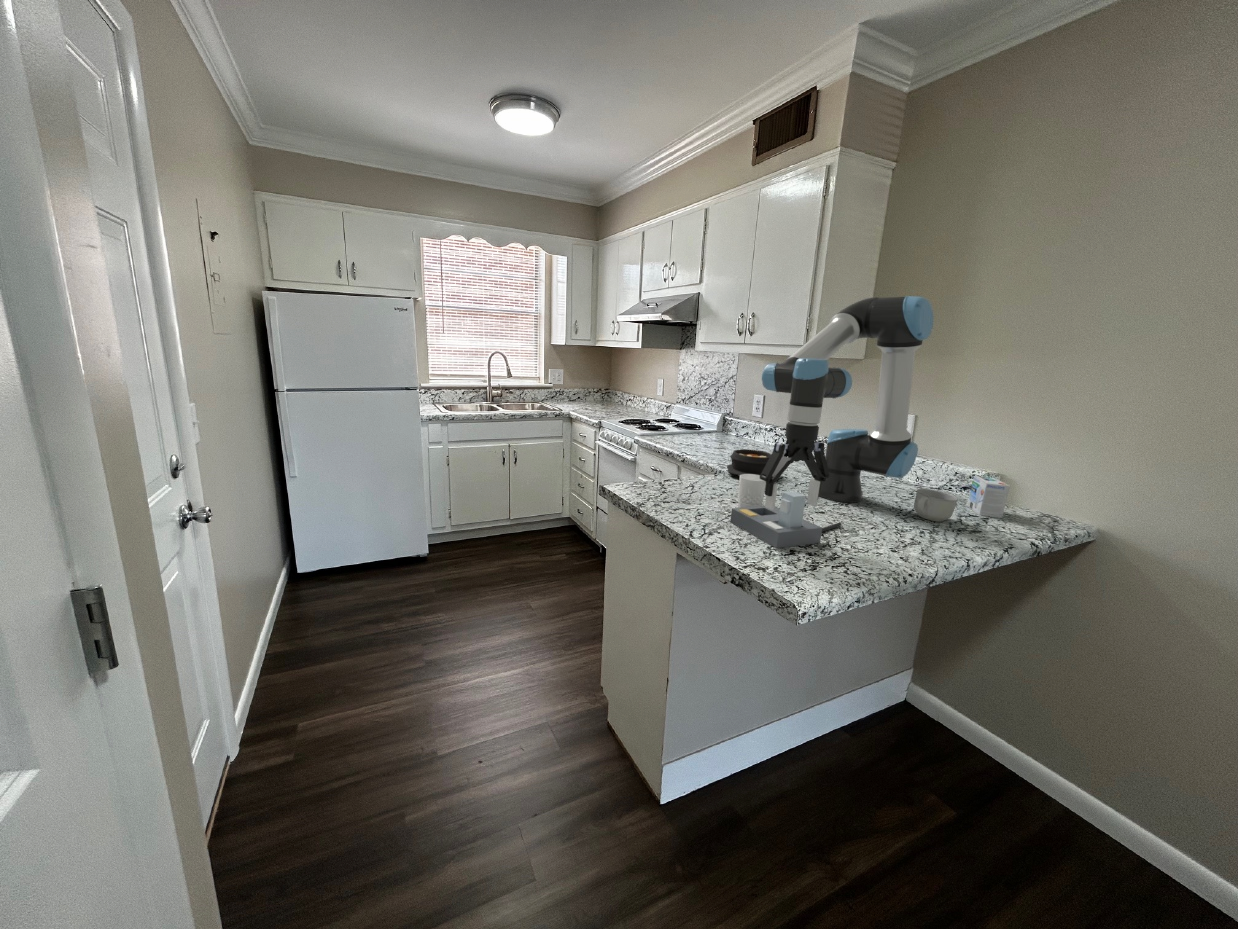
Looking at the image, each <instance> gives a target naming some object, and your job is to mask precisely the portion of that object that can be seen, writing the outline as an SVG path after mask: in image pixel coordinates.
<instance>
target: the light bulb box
mask: <svg viewBox="0 0 1238 929" xmlns="http://www.w3.org/2000/svg"><path fill="white" fill-rule="evenodd" d="M1010 488H1011V485H1010V484H1007V483H1006V482H1004V481H1001V480H1000V479H998V478H996V477H988V476H987V477H986V476H977V475H973V478H972V483H971V486H970V490H969V491H970V492H969V495H968V500H967V505H966V506H967V508H968V509H970V510H971V511H973V512H974V513H975V514H976V515H978V516H980V515H981V517H988V516H990V517H989V518H998V519H1003V515H1004V512H1005V508H1006V505H1007V504H1006V503H1007V500H1008V495H1009V492H1010Z"/></svg>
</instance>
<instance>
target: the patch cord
mask: <svg viewBox="0 0 1238 929" xmlns="http://www.w3.org/2000/svg"><path fill="white" fill-rule="evenodd" d="M841 526H842V522H839V521H838V522H836V523H832V524H830V525H826V526H824V527H822V533H823V532H824V533H825V532H826V531H829V530H832V529H835V528H839V527H841Z"/></svg>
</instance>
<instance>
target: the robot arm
mask: <svg viewBox="0 0 1238 929" xmlns="http://www.w3.org/2000/svg"><path fill="white" fill-rule="evenodd" d="M933 310H934V309H933V307H932V305H931V302H930V301H929V299H928V298H926V297H923V296H912V295H907V296H886V297H885V296H883V297H877V296H876V297H868V298H864V299H861V300H858V301H856V302H854V303H852V304H849V305H848V306H846V307H844V308H843V309H841V310H840V311H838V312H837V313H836V314H835V315H833V316H832V317H831V318H830V319H829V321H828V325H826V326H825V327H824V328H823V329H821V330H820V331H819V332H817V334H815V335H814V336H812V337H811V338H810V339H809V340H808V341H807V342H806V343H805V344H803V345H802V346H801V347H800V348H799V349H797V350H796V351H795V352H794V353H792V354H791V355H789V357H787V358H786V359H785V360H784V361H782V362H781V363H779V362H773V363H772V362H771V363H768V364H767V365H766V366H765V367H764V368H763V370H762V374H761V382H762V383H761V384H762V386H763V388H765V390H767V391H772V392H775V393H785V394H790V399H789V403H788V404H789V405H788V412H787V420H788V422H787V423H786V427H785V432H784V433H785V434H784V437H785V438H786V440H785V443H781V442H779V441H778V442H775V443H774V446H773V451H772V452H771V453H770V454H771V456H770V458H769V460H768V462H767V464H766V465H765V467H764V469H763V471H762V473H761V475H760V479H761V480H764V481H765V482H766V487H765V493H764V496H765V502H764V506H765V507H767V508H769V509H771V510H774V508H775V506H776V500H777V494H778V493H777V492H778V488H779V487H778V486H779V485H778V483H776V482H777V481H778V480H779V479H780V478H781V476H782V475H783V474H784V473H785V471H786V470H787V469H788V467H789V466H790V465H791V464H794V462H799V461H800V462H801V461H802V462H804V463H805V465H806V467H807V468H808V470H809V472H810V474H811V476H812V478H810V479H809V486H808V492H807V496H806V504H808V505H811V506H813V507H817V505H818V499H819V497H821V498H823V499H827V500H831V501H836V502H842V503H858V502H861V501H862V500H863V490H862V481H861V474H862V473H861V472H866V473H871V474H875V475H880V476H884V477H886V478H895V479H902V478H904V477H905V476H907V475H908V473H909V472H910V471H911V470H912V468H913V466H914V464H915V461H916V459H917V456H918V451H919V447H918V444H917V443H916V442H912V437H913V436H912V434H911V432H910V431H908V429H907V428H908V420H909V410H910V402H911V401H910V400H911V393H912V383H913V376H914V375H913V374H914V367H915V366H914V365H915V357H916V351H917V350H918V349H919V348H921V347H922V345H923V341H925V340H927V339H928V338H930V335H931V334H932V330H933V329H934V328H933V327H934V311H933ZM857 339H858V340H859V339H876V340H877V341H876V347H877V348H878V349H879V350H880V351H881V360H880V371H879V373H880V374H879V381H878V392H877V393H878V394H877V403H876V404H877V405H876V414H875V415H876V416H875V427H874V429H872V430H871V431H869V432H868V429H861V428H859V429H857V428H839V429H833V430H831V431H830V432H829V435H828V438H827V441H826V449H825V443H824V442H821V441H817V440H818V435H819V429H820V427H819V425H818V424H820V422H821V418H822V417H821V416H822V411H823V410H822V409H823V402H824V399H825V398H826V399H838V398H841V397H843V396H846V395H847V394H848V393H849V392H850V391H851V389H852V386H853V378H852V375H851V374H850V371H847V370H846V369H844V368H841V367H829V361H828V360H830V358H832V357H833V355H834V354H836V353H837V352H838V351H839V350H840V349H842V348H843V347H844V346H845V345H848V344H851V343H853V342H855V341H856V340H857Z"/></svg>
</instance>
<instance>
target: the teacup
mask: <svg viewBox="0 0 1238 929" xmlns="http://www.w3.org/2000/svg"><path fill="white" fill-rule="evenodd" d="M958 501H959V499H958V497H956V496H955V495H952V494H951V493H947V492H944V491H941V490H937V489H936V490H935V489H931V488H930V489H929V488H917V490H916V495H915V497H914V503H913V509H914V511H915V512H916V513H917V515H918V517H921V518H923V519H925V520H927V521H931V522H943V521H946V520H949V519H950V518H951V517H952V516H953V514H954V512H955V509H956V507H957V506H956V505H957V502H958Z"/></svg>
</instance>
